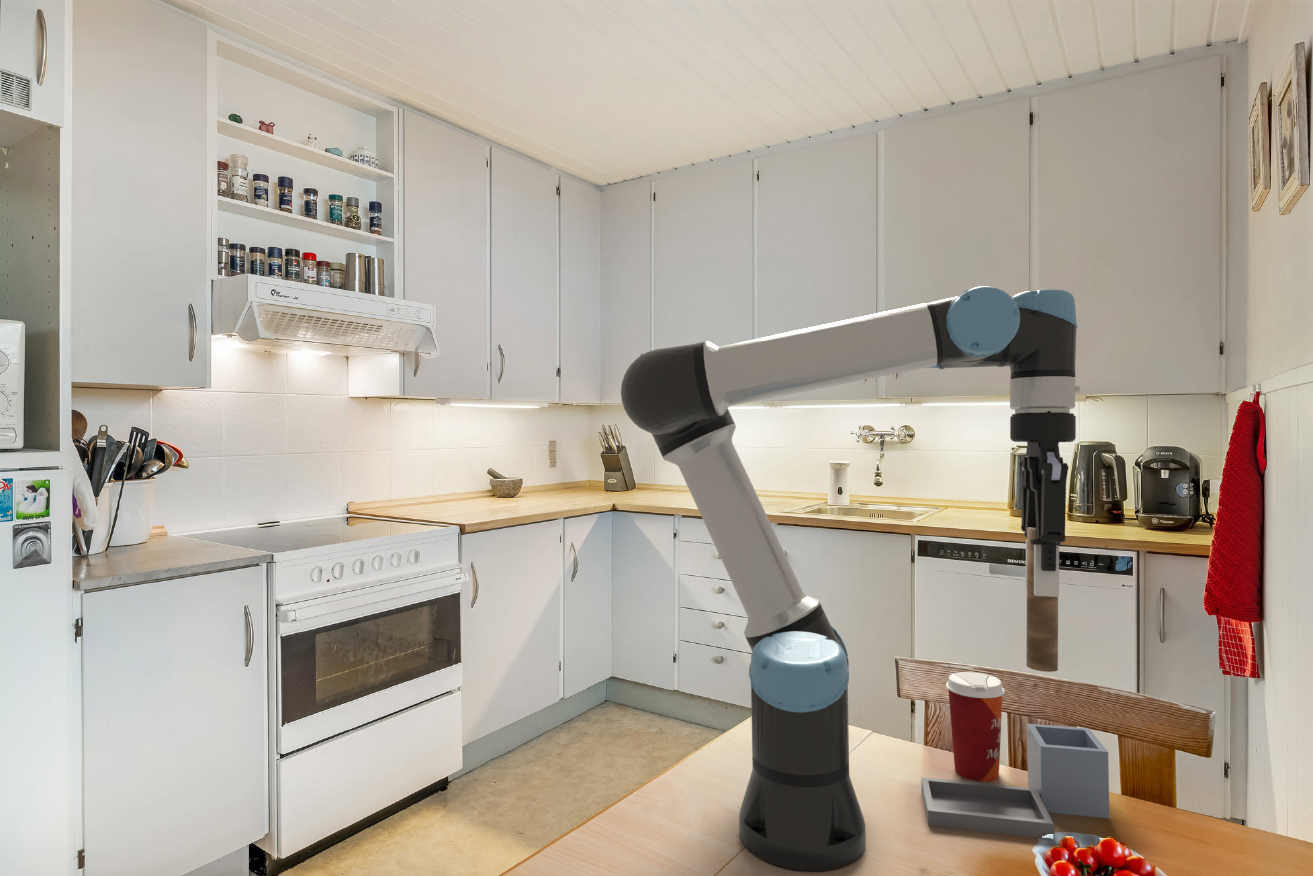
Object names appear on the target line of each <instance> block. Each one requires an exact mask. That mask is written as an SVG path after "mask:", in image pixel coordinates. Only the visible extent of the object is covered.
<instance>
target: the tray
mask: <svg viewBox="0 0 1313 876" xmlns="http://www.w3.org/2000/svg"><path fill="white" fill-rule="evenodd" d="M920 780H921V781H920V782H921V783H920V784H921V785H920V787H921V789H920V790H921V795H922V800H923V801H922V802H923V807H924V811H925V817H926V822H927V826H930V827H937V828H938V827H939V828H947V829H948V828H949V829H954V830H955V829H957V830H965V831H974V832H975V831H976V832H982V833H983V832H984V833H991V834H992V833H993V834H1000V835H1008V836H1009V835H1011V836H1016V837H1017V836H1018V837H1019V836H1020V837H1025V838H1026V837H1027V838H1036V839H1043V838H1042V836H1045V835H1047V834H1054V835H1055V824H1054V822H1053V820H1052V818H1051V815H1050V812H1047V810H1046V808H1045V806H1044V804H1043V802H1042V800H1041V798H1040V796H1039V794H1038V792H1037V790H1036V788H1030V787H1024V786H1016V785H1015V786H1014V785H1004V784H995V783H986V782H976V781H963V780H953V779H945V778H944V779H942V778H931V777H920Z"/></svg>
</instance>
